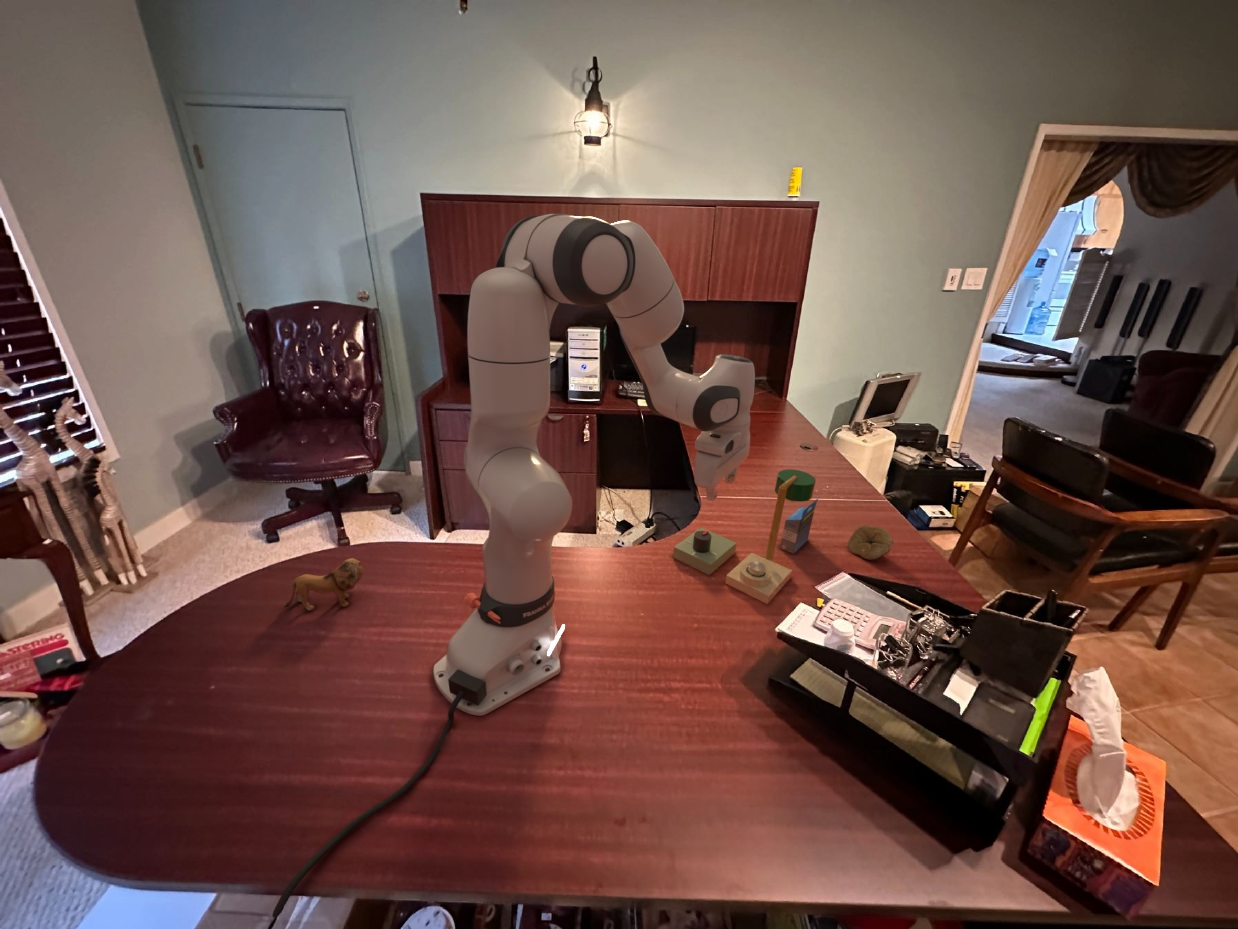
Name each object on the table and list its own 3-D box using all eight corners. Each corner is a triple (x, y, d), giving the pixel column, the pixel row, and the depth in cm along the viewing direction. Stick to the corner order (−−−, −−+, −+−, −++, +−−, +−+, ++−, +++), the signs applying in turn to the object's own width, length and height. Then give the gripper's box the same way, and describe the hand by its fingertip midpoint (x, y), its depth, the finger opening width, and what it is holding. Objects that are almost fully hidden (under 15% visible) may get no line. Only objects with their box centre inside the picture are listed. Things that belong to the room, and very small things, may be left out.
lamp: (784, 567, 108) (801, 492, 101) (751, 552, 113) (764, 479, 105) (804, 545, 117) (821, 474, 109) (773, 532, 121) (787, 463, 113)
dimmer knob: (703, 555, 113) (705, 541, 111) (689, 548, 115) (690, 534, 114) (712, 547, 116) (714, 534, 114) (698, 541, 118) (700, 527, 116)
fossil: (857, 520, 125) (898, 530, 117) (863, 528, 127) (903, 539, 119) (842, 550, 123) (882, 562, 115) (848, 558, 125) (888, 571, 117)
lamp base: (767, 604, 103) (770, 588, 101) (724, 583, 109) (727, 568, 107) (790, 578, 111) (793, 563, 110) (750, 560, 117) (752, 545, 115)
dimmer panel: (708, 575, 111) (710, 564, 110) (672, 557, 117) (673, 546, 115) (734, 553, 119) (736, 542, 118) (699, 537, 125) (701, 526, 124)
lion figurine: (369, 587, 102) (362, 551, 99) (367, 603, 98) (359, 566, 94) (287, 601, 98) (276, 563, 94) (281, 619, 93) (269, 580, 89)
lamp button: (759, 579, 104) (760, 573, 104) (744, 572, 107) (745, 566, 106) (766, 572, 107) (768, 565, 106) (751, 565, 109) (753, 558, 108)
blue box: (793, 534, 128) (803, 492, 123) (808, 540, 126) (818, 498, 121) (778, 548, 122) (788, 504, 117) (793, 555, 120) (804, 510, 115)
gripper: (733, 414, 112) (727, 469, 118) (690, 444, 97) (686, 504, 103) (760, 420, 109) (752, 476, 115) (719, 452, 94) (713, 514, 100)
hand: (721, 490), depth 109 cm, fingers open, 8 cm apart
